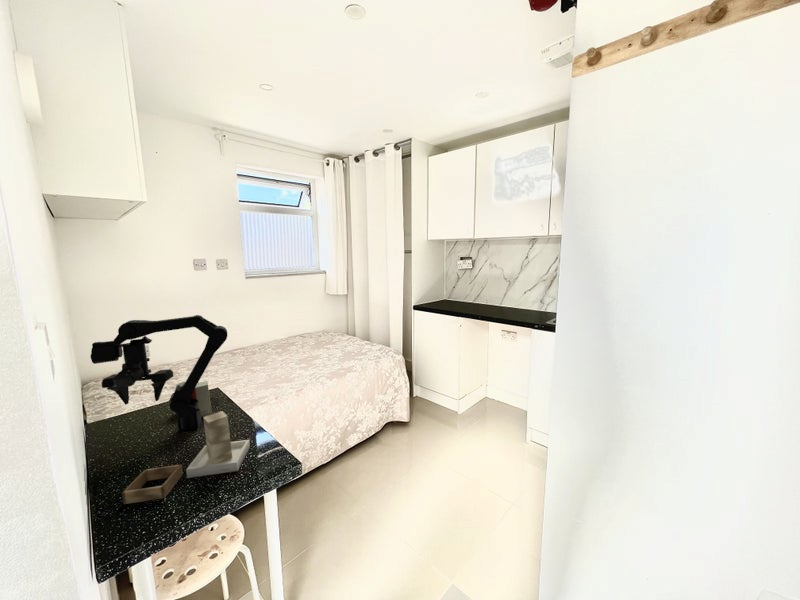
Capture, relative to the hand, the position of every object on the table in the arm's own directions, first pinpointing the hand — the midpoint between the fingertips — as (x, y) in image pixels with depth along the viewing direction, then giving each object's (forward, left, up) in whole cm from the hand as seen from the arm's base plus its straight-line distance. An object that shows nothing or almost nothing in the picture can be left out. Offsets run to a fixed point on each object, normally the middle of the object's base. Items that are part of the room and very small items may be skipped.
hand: (142, 402), depth 107 cm
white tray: (-31, +21, -13) cm, 40 cm away
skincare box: (-12, -16, -13) cm, 24 cm away
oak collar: (-18, +30, -13) cm, 37 cm away
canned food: (-4, -22, -13) cm, 26 cm away
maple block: (-31, +21, -12) cm, 39 cm away
